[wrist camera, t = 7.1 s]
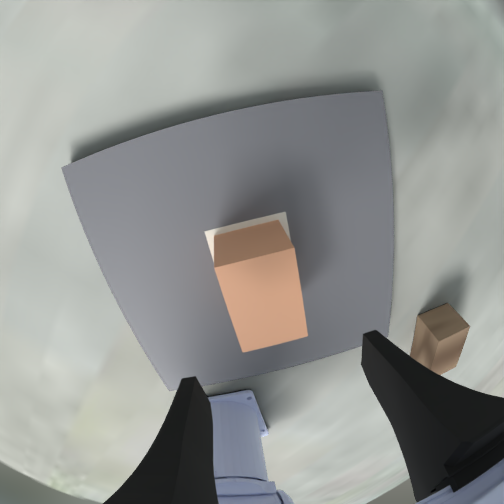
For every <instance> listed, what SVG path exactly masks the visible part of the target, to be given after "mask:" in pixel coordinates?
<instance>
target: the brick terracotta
mask: <svg viewBox="0 0 504 504" xmlns="http://www.w3.org/2000/svg"><path fill="white" fill-rule="evenodd" d="M214 269H215V272H216V275H217V278H218V281H219V284H220V287H221V291H222V294H223V297H224V300H225V303H226V306H227V309H228V312H229V315H230V317H231V320H232V323H233V326H234V329H235V332H236V335H237V338H238V341H239V344H240V346H241V349H242V352H248V351H252V350H256V349H260V348H265V347H269V346H273V345H277V344H281V343H284V342H288V341H292V340H296V339H299V338H303V337H307V336H308V332H307V325H306V318H305V311H304V305H303V298H302V291H301V285H300V279H299V272H298V266H297V260H296V254H295V248H294V246H293V244H292V243H291V241H290V239H289V237H288V236H287V234H286V232H285V230H284V229H283V227H282V225H281V223H280V222H279V220H275V221H270V222H266V223H262V224H258V225H254V226H250V227H246V228H242V229H238V230H234V231H230V232H226V233H222V234H218V235H215V236H214Z"/></svg>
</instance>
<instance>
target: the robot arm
mask: <svg viewBox="0 0 504 504" xmlns="http://www.w3.org/2000/svg"><path fill="white" fill-rule="evenodd" d="M361 365H362V368H363V370H364V373H365V375H366V378H367V380H368V382H369V385H370V386H371V388H372V390H373V392H374V394H375V395H376V397H377V399H378V401H379V403H380V404H381V406H382V408H383V410H384V412H385V413H386V415H387V417H388V419H389V421H390V423H391V425H392V427H393V429H394V432H395V434H396V437H397V440H398V442H399V445H400V448H401V450H402V453H403V456H404V459H405V462H406V466H407V469H408V472H409V476H410V479H411V483H412V487H413V491H414V496H415V499H416V501H417V503H415V504H504V398H502V397H497V396H493V395H488V394H484V393H481V392H478V391H475V390H472V389H469V388H467V387H464V386H462V385H459V384H457V383H454V382H452V381H450V380H448V379H446V378H444V377H442V376H440V375H439V374H437V373H435V372H433V371H432V370H430V369H428V368H427V367H425V366H424V365H422V364H421V363H419V362H418V361H416V360H415V359H413V358H412V357H410V356H409V355H408V354H406V353H405V352H404V351H402V350H401V349H400V348H398V347H397V346H396V345H395V344H393V343H392V342H391V341H389V340H388V339H387V338H386V337H385V336H383V335H382V334H381V333H380V332H378V331H377V330H373V331H370V332H367V333H364V334H363V340H362V361H361ZM268 434H269V433H268V429H267V427H266V424H265V422H264V419H263V417H262V414H261V412H260V409H259V406H258V404H257V401H256V399H255V396H254V393H253V391H251V390H244V391H239V392H234V393H229V394H224V395H218V396H212V397H207V396H206V394H205V392H204V390H203V388H202V387H201V385H200V383H199V381H198V379H197V378H196V376H193V377H187V378H182V379H181V381H180V384H179V387H178V389H177V392H176V395H175V397H174V400H173V402H172V405H171V407H170V409H169V412H168V414H167V416H166V418H165V421H164V423H163V425H162V427H161V429H160V431H159V433H158V435H157V437H156V439H155V440H154V442H153V444H152V446H151V447H150V449H149V451H148V452H147V454H146V455H145V457H144V458H143V460H142V461H141V463H140V464H139V465H138V467H137V468H136V470H135V471H134V472H133V473H132V475H131V476H130V477H129V478H128V479H127V480H126V481H125V483H124V484H123V485H122V486H121V487H120V488H119V489H118V490H117V491H116V492H115V493H114V494H113V495H112V496H111V497H110V498H109V499H108V500H107V501H105V502H104V503H103V504H294V503H293V501H292V499H291V498H290V496H288V495H287V494H286V493H285V492H284V491H283V490H276V486H275V482H274V481H272V482H269V481H268V476H267V470H266V465H265V459H264V453H263V447H262V442H261V437H262V436H267V435H268Z"/></svg>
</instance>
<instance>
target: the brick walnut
mask: <svg viewBox="0 0 504 504" xmlns="http://www.w3.org/2000/svg"><path fill="white" fill-rule="evenodd" d="M469 328H470V326H469V325H468V323H467V322H466V321H465V320H464V319H463V318H462V317H461V316H460V315H459V314H458V313H457V312H456V311H455V310H454V309H453V308H452V307H451V306H450V305H449V303H447V304H444V305H442V306H440V307H437V308H435V309H432V310H430V311H427V312H425V313H423V314H420V315H418V316H417V322H416V328H415V333H414V339H413V344H412V348H411V353H410V357H412V358H413V359H415V360H416V361H418V362H419V363H421V364H422V365H424V366H425V367H427V368H428V369H430V370H432V371H433V372H435V373H437V374H439V375H441V374H443V373H445V372H447V371H449V370H451V369H453V368H454V367H456V365H457V362H458V360H459V357H460V354H461V352H462V349H463V346H464V343H465V340H466V337H467V334H468V331H469Z"/></svg>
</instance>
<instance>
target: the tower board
mask: <svg viewBox="0 0 504 504" xmlns="http://www.w3.org/2000/svg"><path fill="white" fill-rule="evenodd" d="M62 171H63V174H64V177H65V180H66V183H67V186H68V189H69V192H70V195H71V197H72V200H73V203H74V206H75V208H76V211H77V214H78V216H79V219H80V222H81V224H82V227H83V229H84V232H85V234H86V236H87V239H88V241H89V244H90V246H91V248H92V251H93V253H94V255H95V257H96V260H97V262H98V264H99V266H100V268H101V271H102V273H103V275H104V277H105V279H106V281H107V283H108V285H109V287H110V289H111V291H112V293H113V295H114V297H115V299H116V301H117V303H118V305H119V307H120V309H121V311H122V313H123V315H124V317H125V318H126V320H127V322H128V324H129V326H130V328H131V329H132V331H133V333H134V335H135V337H136V338H137V340H138V342H139V344H140V345H141V347H142V349H143V350H144V352H145V354H146V355H147V357H148V359H149V360H150V362H151V364H152V365H153V367H154V368H155V370H156V372H157V373H158V375H159V376H160V378H161V379H162V381H163V382H164V384H165V386H166V387H167V389H168V390H169V391H173V390H177V389H178V387H179V384H180V381H181V379H182V378H187V377H193V376H196V378H197V379H198V381H199V383H200V385H201V386H205V385H210V384H216V383H221V382H227V381H232V380H237V379H241V378H246V377H251V376H255V375H260V374H264V373H268V372H272V371H277V370H281V369H285V368H288V367H292V366H296V365H300V364H303V363H307V362H311V361H314V360H318V359H321V358H325V357H328V356H331V355H334V354H338V353H341V352H344V351H347V350H350V349H353V348H356V347H359V346H362V340H363V334H364V333H367V332H370V331H373V330H377V331H378V332H380V333H381V334H382V335H383V336H385V337H388V332H389V323H390V312H391V300H392V284H393V261H394V207H393V183H392V168H391V156H390V145H389V136H388V127H387V119H386V112H385V105H384V98H383V92H382V91H366V92H352V93H341V94H331V95H322V96H314V97H306V98H299V99H292V100H286V101H280V102H274V103H268V104H263V105H258V106H253V107H248V108H243V109H238V110H234V111H229V112H225V113H221V114H216V115H212V116H208V117H204V118H201V119H197V120H193V121H189V122H186V123H182V124H179V125H175V126H172V127H169V128H165V129H162V130H159V131H156V132H153V133H149V134H146V135H143V136H140V137H137V138H135V139H132V140H129V141H126V142H123V143H120V144H118V145H115V146H112V147H110V148H107V149H105V150H102V151H99V152H97V153H94V154H92V155H90V156H87V157H85V158H82V159H80V160H78V161H75V162H73V163H71V164H68V165H66V166H64V167H62ZM275 220H279V222H280V223H281V225H282V227H283V229H284V230H285V232H286V234H287V236H288V237H289V239H290V241H291V243H292V244H293V246H294V248H295V254H296V260H297V266H298V272H299V279H300V285H301V291H302V298H303V305H304V311H305V318H306V325H307V332H308V336H307V337H303V338H299V339H296V340H292V341H288V342H284V343H281V344H277V345H273V346H269V347H265V348H260V349H256V350H252V351H248V352H242V349H241V346H240V344H239V341H238V338H237V335H236V332H235V329H234V326H233V323H232V320H231V317H230V315H229V312H228V309H227V306H226V303H225V300H224V297H223V294H222V291H221V287H220V284H219V281H218V278H217V275H216V272H215V269H214V236H215V235H218V234H222V233H226V232H230V231H234V230H238V229H242V228H246V227H250V226H254V225H258V224H262V223H266V222H270V221H275Z"/></svg>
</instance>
